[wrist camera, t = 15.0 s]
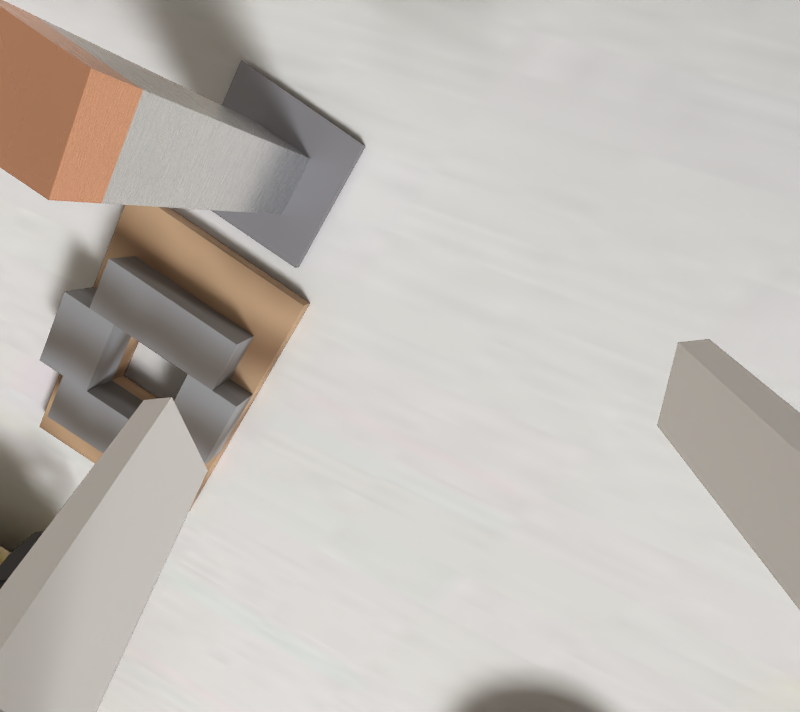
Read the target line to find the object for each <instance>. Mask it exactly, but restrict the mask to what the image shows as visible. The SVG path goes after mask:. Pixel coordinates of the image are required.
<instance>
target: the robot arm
mask: <svg viewBox="0 0 800 712" xmlns="http://www.w3.org/2000/svg"><path fill="white" fill-rule="evenodd" d="M657 426H658V427H659V428H660V430H661V431H662V432H663V434H664V435H665V436H666V438H667V439H668V440H669V441H670V443H671V444H672V445H673V447H674V448H675V449H676V451H677V452H678V453H679V454H680V456H681V457H682V458H683V460H684V461H685V462H686V463H687V465H688V466H689V467H690V469H691V470H692V471H693V473H694V474H695V475H696V476H697V478H698V479H699V480H700V482H701V483H702V484H703V486H704V487H705V488H706V489H707V491H708V492H709V493H710V495H711V496H712V497H713V498H714V500H715V501H716V502H717V504H718V505H719V506H720V508H721V509H722V510H723V511H724V513H725V514H726V515H727V517H728V518H729V519H730V520H731V522H732V523H733V524H734V526H735V527H736V528H737V530H738V531H739V532H740V533H741V535H742V536H743V537H744V539H745V540H746V541H747V543H748V544H749V545H750V546H751V548H752V549H753V550H754V552H755V553H756V554H757V555H758V557H759V558H760V559H761V561H762V562H763V563H764V565H765V566H766V567H767V568H768V570H769V571H770V572H771V574H772V575H773V576H774V577H775V579H776V580H777V581H778V583H779V584H780V585H781V587H782V588H783V589H784V590H785V592H786V593H787V594H788V596H789V597H790V598H791V600H792V601H793V602H794V603H795V605H796V606H797V607H798V609H799V610H800V413H799V412H798V411H797V410H795V409H794V408H793V407H792V406H791V405H789V404H788V403H787V402H786V401H784V400H783V399H782V398H781V397H780V396H778V395H777V394H776V393H775V392H773V391H772V390H771V389H770V388H769V387H767V386H766V385H765V384H764V383H762V382H761V381H760V380H759V379H757V378H756V377H755V376H754V375H753V374H751V373H750V372H749V371H748V370H746V369H745V368H744V367H743V366H742V365H740V364H739V363H738V362H737V361H735V360H734V359H733V358H732V357H731V356H729V355H728V354H727V353H726V352H724V351H723V350H722V349H721V348H719V347H718V346H717V345H716V344H715V343H713V342H712V341H711V340H710V339H705V340H696V341H687V342H678V345H677V349H676V353H675V357H674V360H673V364H672V368H671V372H670V376H669V380H668V384H667V388H666V392H665V396H664V400H663V404H662V408H661V412H660V416H659V420H658V424H657ZM207 471H208V470H207V468H206V466H205V464H204V462H203V460H202V458H201V456H200V454H199V452H198V450H197V448H196V445H195V443H194V441H193V439H192V437H191V435H190V433H189V431H188V429H187V427H186V425H185V423H184V421H183V419H182V417H181V415H180V413H179V411H178V409H177V407H176V404H175V402H174V400H173V398H172V397H168V398H158V399H149V400H144V401H143V402H142V403H141V404H140V406H139V407H138V408H137V410H136V411H135V412H134V414H133V415H132V416H131V418H130V419H129V420H128V422H127V423H126V424H125V426H124V427H123V428H122V429H121V431H120V432H119V433H118V435H117V436H116V437H115V439H114V440H113V441H112V443H111V444H110V445H109V447H108V448H107V449H106V451H105V452H104V453H103V454H102V456H101V457H100V458H99V460H98V461H97V462H96V464H95V465H94V466H93V468H92V469H91V470H90V472H89V473H88V474H87V476H86V477H85V478H84V480H83V481H82V482H81V483H80V485H79V486H78V487H77V489H76V490H75V491H74V493H73V494H72V495H71V497H70V498H69V499H68V501H67V502H66V503H65V505H64V506H63V507H62V508H61V510H60V511H59V512H58V514H57V515H56V516H55V518H54V519H53V520H52V522H51V523H50V524H49V526H48V527H47V528H46V530H45V531H43V532H35V533H34V534H33V535H31V536H30V537H29V538H28V539H27V540H26V541H24V542H23V543H22V544H21V545H20V546H19V547H17V548H16V549H15V550H14V551H13V552H12V553H10V554H9V555H8V556H7V557H6V559H5V560H4V561H3V562H2V564H1V565H0V712H97V710H98V707H99V705H100V703H101V701H102V699H103V697H104V694H105V692H106V690H107V688H108V686H109V684H110V681H111V679H112V677H113V675H114V673H115V671H116V668H117V666H118V664H119V662H120V660H121V658H122V655H123V653H124V651H125V649H126V647H127V645H128V642H129V640H130V638H131V636H132V634H133V632H134V629H135V627H136V625H137V623H138V621H139V619H140V616H141V614H142V612H143V610H144V608H145V605H146V603H147V601H148V599H149V597H150V595H151V592H152V590H153V588H154V586H155V584H156V582H157V579H158V577H159V575H160V573H161V571H162V569H163V566H164V564H165V562H166V560H167V558H168V556H169V553H170V551H171V549H172V547H173V545H174V543H175V540H176V538H177V536H178V534H179V532H180V530H181V527H182V525H183V523H184V521H185V519H186V517H187V514H188V512H189V510H190V508H191V506H192V503H193V501H194V499H195V497H196V495H197V493H198V490H199V488H200V486H201V484H202V482H203V480H204V477H205V475H206V473H207Z"/></svg>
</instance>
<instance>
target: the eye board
mask: <svg viewBox="0 0 800 712" xmlns="http://www.w3.org/2000/svg"><path fill="white" fill-rule="evenodd" d="M309 304H310V303H309V302H308V301H306V300H305V299H303V298H302V297H300V296H299V295H297V294H296V293H294V292H293V291H291V290H290V289H288V288H287V287H286V286H284V285H283V284H281V283H280V282H278V281H277V280H275V279H274V278H272V277H271V276H269V275H268V274H266V273H265V272H263V271H262V270H261V269H259V268H258V267H256V266H255V265H253V264H252V263H250V262H249V261H247V260H246V259H244V258H243V257H241V256H240V255H238V254H237V253H236V252H234V251H233V250H231V249H230V248H228V247H227V246H225V245H224V244H222V243H221V242H219V241H218V240H216V239H215V238H213V237H212V236H210V235H209V234H208V233H206V232H205V231H203V230H202V229H200V228H199V227H197V226H196V225H194V224H193V223H191V222H190V221H188V220H187V219H185V218H184V217H183V216H181V215H180V214H178V213H177V212H175V211H174V210H172V209H171V208H169V207H153V206H137V205H125V206H124V209H123V211H122V214H121V217H120V219H119V222H118V224H117V227H116V230H115V232H114V235H113V237H112V240H111V242H110V245H109V248H108V250H107V253H106V255H105V258H104V261H103V263H102V266H101V268H100V271H99V274H98V276H97V279H96V281H95V284H94V287H91V288H85V289H79V290H72V291H66V292H64V295H63V297H62V300H61V303H60V306H59V308H58V311H57V314H56V317H55V319H54V322H53V325H52V328H51V330H50V333H49V336H48V339H47V341H46V344H45V347H44V350H43V353H42V355H41V358H40V361H42V362H43V363H45V364H46V365H48V366H49V367H51V368H52V369H54V370H55V371H57V372H58V373H60V375H59V377H58V380H57V382H56V385H55V388H54V390H53V393H52V395H51V398H50V400H49V403H48V406H47V408H46V411H45V413H44V416H43V419H42V421H41V424H40V426H39V427H41V428H42V429H44V430H45V431H47V432H48V433H50V434H51V435H53V436H54V437H56V438H57V439H59V440H60V441H62V442H63V443H65V444H66V445H68V446H69V447H71V448H72V449H74V450H75V451H77V452H78V453H80V454H81V455H83V456H85V457H86V458H88V459H89V460H91V461H92V462H94V463H95V464H96V462H97V461H98V460H99V458H100V457H101V456H102V454H103V453H104V452H105V451H106V449H107V448H108V447H109V445H110V444H111V443H112V441H113V440H114V439H115V437H116V436H117V435H118V433H119V432H120V431H121V429H122V428H123V427H124V426H125V424H126V423H127V422H128V420H129V419H130V418H131V416H132V415H133V414H134V412H135V411H136V410H137V408H138V407H139V406H140V404H141V403H142V402H143V401H144V400H149V399H158V398H157V397H155V396H154V395H152V394H151V393H149V392H148V391H146V390H145V389H143V388H142V387H140V386H139V385H137V384H136V383H134V382H133V381H131V380H130V379H128V378H127V377H125V376H124V373H125V371H126V369H127V367H128V364H129V362H130V360H131V358H132V355H133V353H134V351H135V349H136V346H137V344H138V342H140V343H142V344H143V345H145V346H146V347H148V348H149V349H151V350H152V351H154V352H155V353H157V354H158V355H160V356H161V357H163V358H164V359H166V360H167V361H169V362H170V363H172V364H173V365H175V366H176V367H178V368H179V369H181V370H182V371H184V372H185V373H187V374H188V375H187V377H186V379H185V381H184V383H183V385H182V387H181V388H180V390H179V392H178V394H177V396H176V398H175V400H174V402H175V404H176V407H177V409H178V411H179V413H180V415H181V417H182V419H183V421H184V423H185V425H186V427H187V429H188V431H189V433H190V435H191V437H192V439H193V441H194V443H195V445H196V448H197V450H198V452H199V454H200V456H201V458H202V460H203V462H204V464H205V466H206V468H207V470H208V471H207V473H206V475H205V477H204V480H203V482H202V484H201V486H200V488H199V490H198V493H197V495H196V497H195V499H194V501H193V503H192V506H193V504H194V502H195V500H196V499H197V497H198V495H199V494H200V492H201V490H202V488H203V487H204V485H205V483H206V481H207V480H208V478H209V476H210V475H211V473H212V471H213V469H214V468H215V466H216V464H217V463H218V461H219V459H220V457H221V456H222V454H223V452H224V451H225V449H226V447H227V445H228V444H229V442H230V440H231V438H232V437H233V435H234V433H235V432H236V430H237V428H238V426H239V425H240V423H241V421H242V420H243V418H244V416H245V414H246V413H247V411H248V409H249V407H250V406H251V404H252V402H253V401H254V399H255V397H256V395H257V394H258V392H259V390H260V389H261V387H262V385H263V383H264V382H265V380H266V378H267V377H268V375H269V373H270V371H271V370H272V368H273V366H274V364H275V363H276V361H277V359H278V358H279V356H280V354H281V352H282V351H283V349H284V347H285V346H286V344H287V342H288V340H289V339H290V337H291V335H292V334H293V332H294V330H295V328H296V327H297V325H298V323H299V321H300V320H301V318H302V316H303V315H304V313H305V311H306V309H307V308H308V306H309ZM192 506H191V507H192ZM190 509H191V508H190ZM189 511H190V510H189Z"/></svg>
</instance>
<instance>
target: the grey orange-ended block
mask: <svg viewBox="0 0 800 712" xmlns="http://www.w3.org/2000/svg"><path fill="white" fill-rule="evenodd" d="M309 161H310V158H309V157H307V156H306V155H304V154H303V153H301V152H300V151H299V150H297V149H296V148H294V147H293V146H291V145H290V144H288V143H287V142H285V141H284V140H283V139H281V138H280V137H278V136H277V135H275V134H274V133H272V132H271V131H269V130H268V129H267V128H265V127H264V126H262V125H261V124H259V123H258V122H256V121H254V120H251V119H249V118H247V117H245V116H243V115H241V114H239V113H237V112H235V111H233V110H231V109H229V108H226V107H224V106H222V105H220V104H218V103H216V102H214V101H212V100H210V99H208V98H206V97H203V96H201V95H199V94H197V93H195V92H193V91H191V90H189V89H187V88H185V87H183V86H181V85H178V84H176V83H174V82H172V81H170V80H168V79H166V78H164V77H162V76H160V75H158V74H155V73H153V72H151V71H149V70H147V69H145V68H143V67H141V66H139V65H137V64H135V63H133V62H130V61H128V60H126V59H124V58H122V57H120V56H118V55H116V54H114V53H112V52H110V51H107V50H105V49H103V48H101V47H99V46H97V45H95V44H93V43H91V42H89V41H87V40H84V39H82V38H80V37H78V36H76V35H74V34H72V33H70V32H68V31H66V30H64V29H62V28H59V27H57V26H55V25H53V24H51V23H49V22H47V21H45V20H43V19H41V18H39V17H36V16H34V15H32V14H30V13H28V12H26V11H24V10H22V9H20V8H18V7H16V6H14V5H11V4H9V3H7V2H5V1H3V0H0V168H2V169H3V170H5V171H6V172H8V173H9V174H11V175H12V176H14V177H15V178H17V179H18V180H20V181H21V182H23V183H24V184H26V185H27V186H29V187H30V188H32V189H33V190H35V191H36V192H38V193H39V194H40V195H42V196H43V197H45V198H46V199H48V200H57V201H73V202H89V203H105V204H121V205H137V206H153V207H169V208H185V209H201V210H217V211H233V212H249V213H265V214H281V215H282V214H283V212H284V210H285V208H286V206H287V204H288V202H289V200H290V198H291V196H292V194H293V192H294V190H295V188H296V186H297V185H298V183H299V181H300V179H301V177H302V175H303V173H304V171H305V169H306V167H307V165H308V163H309Z"/></svg>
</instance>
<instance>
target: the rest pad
mask: <svg viewBox="0 0 800 712" xmlns="http://www.w3.org/2000/svg"><path fill="white" fill-rule="evenodd" d="M222 106H224V107H226V108H229V109H231V110H233V111H235V112H237V113H239V114H241V115H243V116H245V117H247V118H249V119H251V120H254V121H256V122H258V123H259V124H261V125H262V126H264V127H265V128H267V129H268V130H269V131H271V132H272V133H274V134H275V135H277V136H278V137H280V138H281V139H283V140H284V141H285V142H287V143H288V144H290V145H291V146H293V147H294V148H296V149H297V150H299V151H300V152H301V153H303V154H304V155H306V156H307V157H309V158H310V161H309V163H308V165H307V167H306V169H305V171H304V173H303V175H302V177H301V179H300V181H299V183H298V185H297V186H296V188H295V190H294V192H293V194H292V196H291V198H290V200H289V202H288V204H287V206H286V208H285V210H284V212H283V214H282V215H281V214H265V213H249V212H233V211H217V210H211V211H213V212H214V213H216V214H217V215H219V216H220V217H222V218H223V219H225V220H226V221H227V222H229V223H230V224H232V225H233V226H235V227H236V228H238V229H239V230H241V231H242V232H244V233H245V234H247V235H248V236H250V237H251V238H252V239H254V240H255V241H257V242H258V243H260V244H261V245H263V246H264V247H266V248H267V249H269V250H270V251H272V252H273V253H274V254H276V255H277V256H279V257H280V258H282V259H283V260H285V261H286V262H288V263H289V264H291V265H292V266H294V267H295V268H296V267H299V266H300V264H301V262H302V260H303V258H304V257H305V255H306V253H307V251H308V249H309V248H310V246H311V244H312V242H313V240H314V238H315V237H316V235H317V233H318V231H319V229H320V228H321V226H322V224H323V222H324V220H325V219H326V217H327V215H328V213H329V211H330V210H331V208H332V206H333V204H334V202H335V201H336V199H337V197H338V195H339V193H340V192H341V190H342V188H343V186H344V184H345V182H346V181H347V179H348V177H349V175H350V173H351V172H352V170H353V168H354V166H355V164H356V163H357V161H358V159H359V157H360V155H361V154H362V152H363V150H364V148H365V146H364V145H363V144H361V143H360V142H358V141H357V140H356V139H354V138H353V137H351V136H350V135H348V134H347V133H345V132H344V131H343V130H341V129H340V128H338V127H337V126H335V125H334V124H332V123H331V122H330V121H328V120H327V119H325V118H324V117H322V116H321V115H319V114H318V113H317V112H315V111H314V110H312V109H311V108H309V107H308V106H306V105H305V104H303V103H302V102H301V101H299V100H298V99H296V98H295V97H293V96H292V95H290V94H289V93H288V92H286V91H285V90H283V89H282V88H280V87H279V86H277V85H276V84H275V83H273V82H272V81H270V80H269V79H267V78H266V77H264V76H263V75H262V74H260V73H259V72H257V71H256V70H254V69H253V68H251V67H250V66H249V65H247V64H246V63H244V62H243V61H241V62H240V65H239V67H238V69H237V72H236V74H235V76H234V79H233V81H232V83H231V86H230V88H229V90H228V93H227V95H226V97H225V100H224V102H223V104H222Z"/></svg>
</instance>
